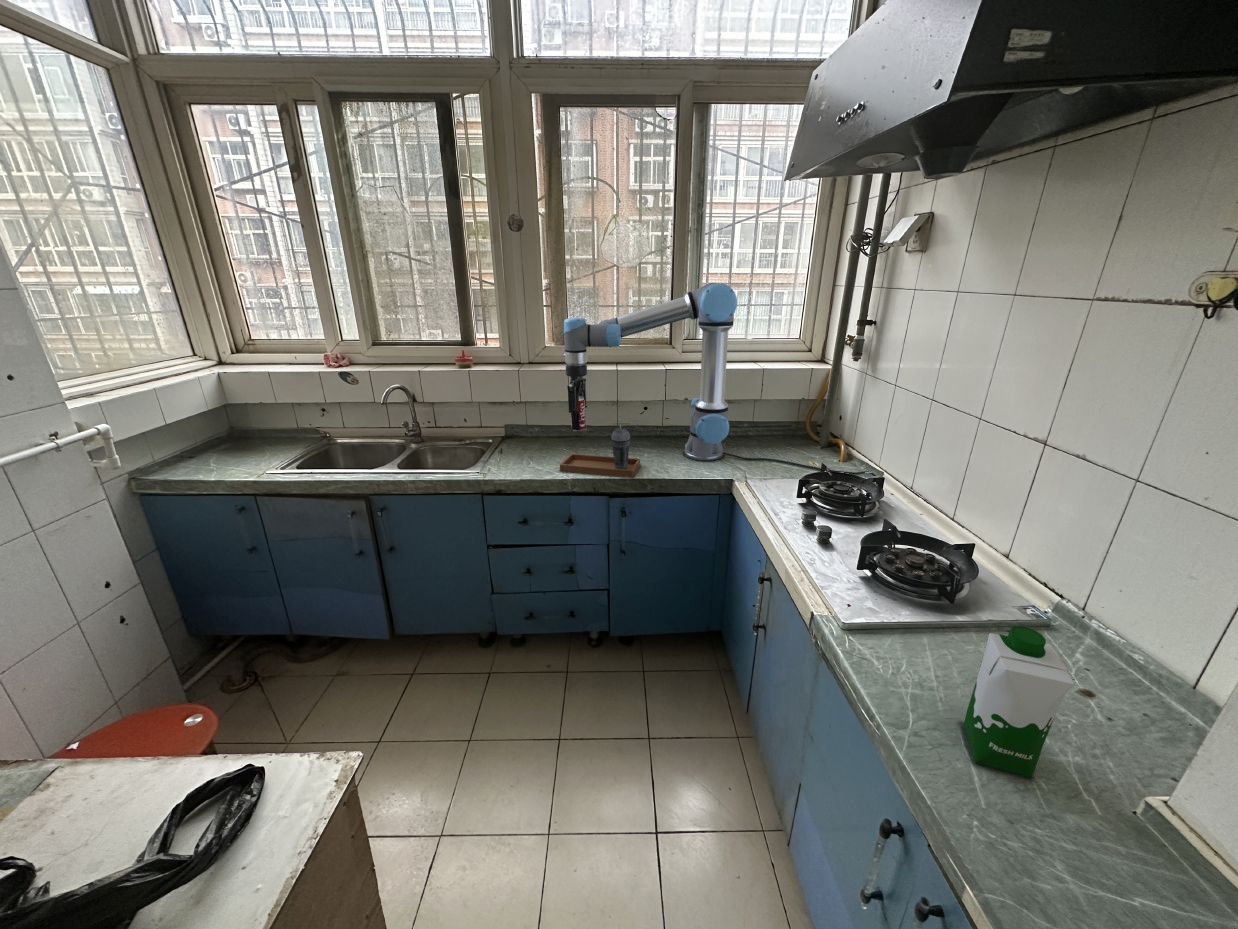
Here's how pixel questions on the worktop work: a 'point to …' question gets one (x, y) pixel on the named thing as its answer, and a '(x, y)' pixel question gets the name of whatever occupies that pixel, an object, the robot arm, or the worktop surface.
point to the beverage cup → (620, 447)
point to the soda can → (581, 414)
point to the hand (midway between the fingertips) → (578, 427)
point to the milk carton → (1015, 700)
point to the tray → (598, 465)
